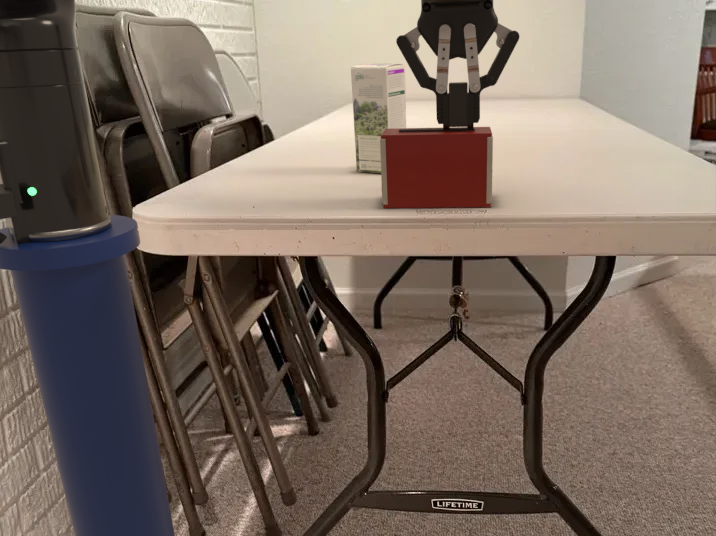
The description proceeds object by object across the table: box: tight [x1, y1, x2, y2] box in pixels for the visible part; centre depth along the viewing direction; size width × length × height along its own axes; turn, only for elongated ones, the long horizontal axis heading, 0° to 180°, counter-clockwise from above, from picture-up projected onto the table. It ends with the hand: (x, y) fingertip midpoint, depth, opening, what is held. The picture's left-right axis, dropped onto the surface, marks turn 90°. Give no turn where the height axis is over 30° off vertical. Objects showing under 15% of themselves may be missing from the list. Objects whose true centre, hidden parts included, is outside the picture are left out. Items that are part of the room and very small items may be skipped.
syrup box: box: [350, 63, 407, 174], centre depth 101 cm, size 6×6×14 cm
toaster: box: [380, 126, 494, 209], centre depth 81 cm, size 12×6×8 cm, turn 86°
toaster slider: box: [448, 81, 469, 127], centre depth 79 cm, size 2×2×4 cm
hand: (458, 127), depth 80 cm, fingers closed on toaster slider, 2 cm apart
